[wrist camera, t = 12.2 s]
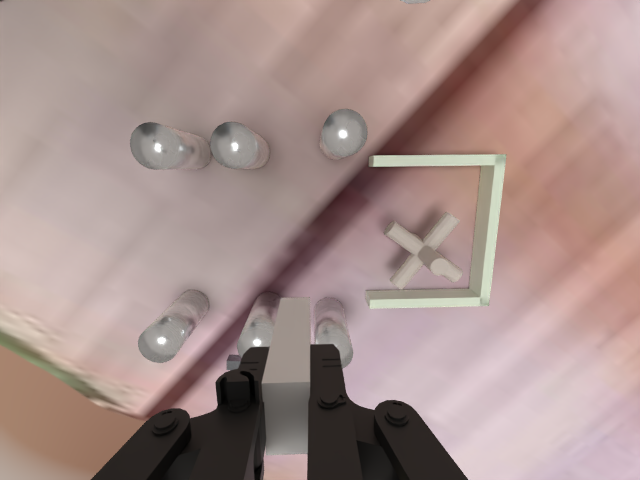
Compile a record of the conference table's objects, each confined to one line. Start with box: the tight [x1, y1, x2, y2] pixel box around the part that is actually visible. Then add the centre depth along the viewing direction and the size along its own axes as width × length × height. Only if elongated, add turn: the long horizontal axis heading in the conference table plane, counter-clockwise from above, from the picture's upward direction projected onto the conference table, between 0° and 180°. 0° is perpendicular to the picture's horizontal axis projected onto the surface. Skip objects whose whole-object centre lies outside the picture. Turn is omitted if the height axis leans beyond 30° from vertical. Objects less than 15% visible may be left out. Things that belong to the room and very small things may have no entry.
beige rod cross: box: [384, 212, 463, 290], centre depth 36 cm, size 10×10×10 cm
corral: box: [366, 154, 506, 309], centre depth 39 cm, size 19×15×3 cm
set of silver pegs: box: [130, 109, 367, 369], centre depth 35 cm, size 26×23×10 cm
